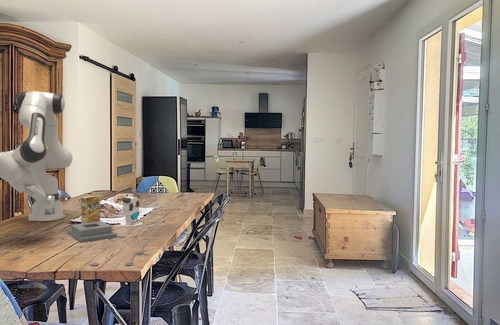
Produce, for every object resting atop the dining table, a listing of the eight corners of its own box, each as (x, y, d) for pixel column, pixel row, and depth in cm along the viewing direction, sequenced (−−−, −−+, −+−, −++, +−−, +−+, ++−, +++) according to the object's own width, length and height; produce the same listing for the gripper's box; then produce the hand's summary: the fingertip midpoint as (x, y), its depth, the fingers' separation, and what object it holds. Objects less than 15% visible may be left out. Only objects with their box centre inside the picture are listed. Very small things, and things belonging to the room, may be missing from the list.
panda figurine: (135, 227, 201) (135, 198, 200) (115, 226, 203) (115, 197, 202) (146, 222, 212) (146, 195, 211) (127, 221, 215) (127, 194, 214)
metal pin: (42, 213, 176) (42, 195, 175) (53, 212, 179) (53, 195, 178) (45, 215, 172) (44, 197, 172) (56, 214, 175) (55, 196, 175)
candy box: (86, 227, 198) (86, 197, 197) (80, 226, 200) (80, 197, 199) (100, 224, 206) (100, 195, 205) (95, 223, 208) (95, 195, 207)
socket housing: (66, 232, 187) (66, 223, 187) (100, 228, 197) (100, 219, 197) (80, 242, 170) (80, 232, 170) (117, 237, 180) (117, 227, 180)
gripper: (31, 180, 162) (57, 202, 167) (31, 175, 180) (55, 195, 185) (19, 191, 160) (46, 213, 166) (20, 185, 178) (44, 205, 183)
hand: (50, 203), depth 176 cm, fingers closed on metal pin, 4 cm apart
